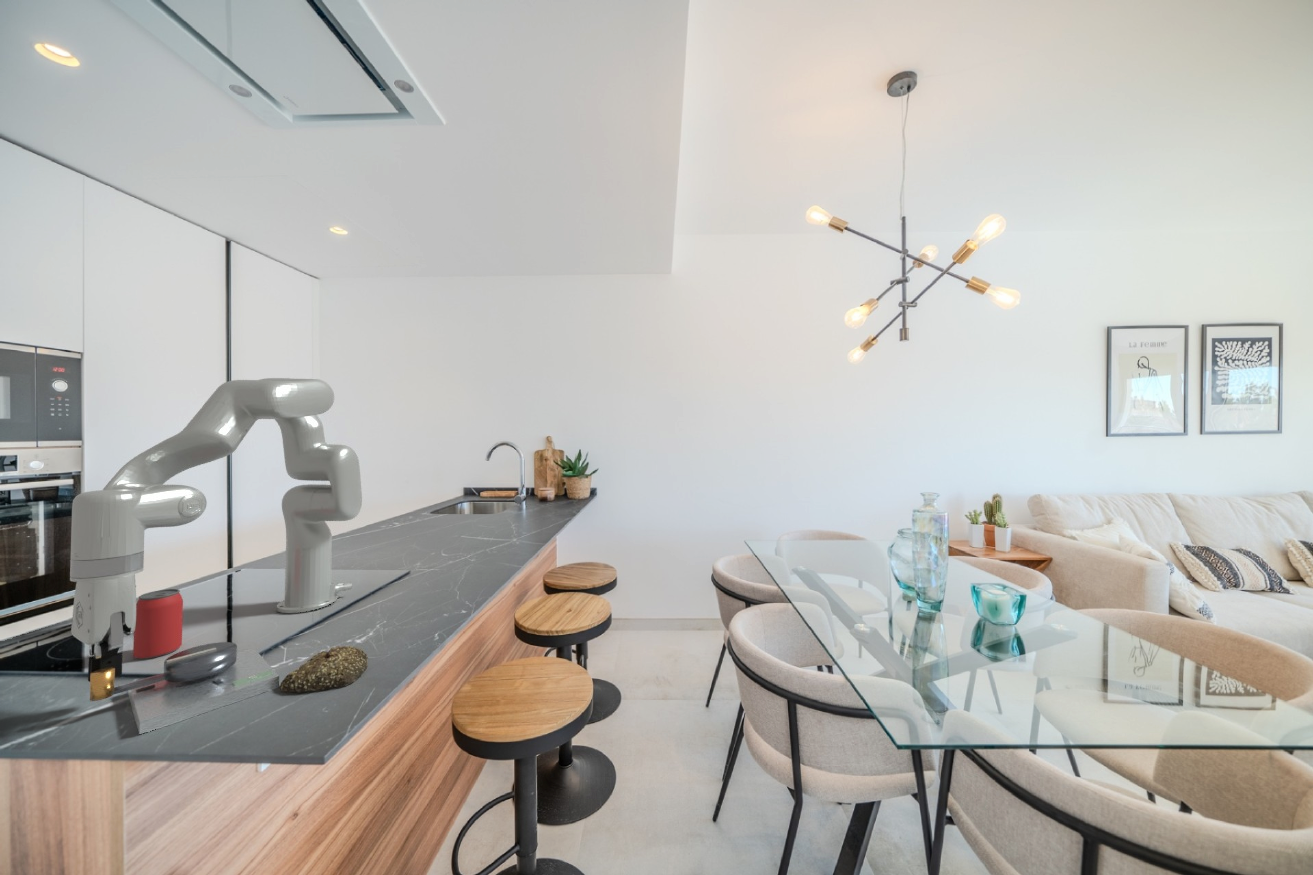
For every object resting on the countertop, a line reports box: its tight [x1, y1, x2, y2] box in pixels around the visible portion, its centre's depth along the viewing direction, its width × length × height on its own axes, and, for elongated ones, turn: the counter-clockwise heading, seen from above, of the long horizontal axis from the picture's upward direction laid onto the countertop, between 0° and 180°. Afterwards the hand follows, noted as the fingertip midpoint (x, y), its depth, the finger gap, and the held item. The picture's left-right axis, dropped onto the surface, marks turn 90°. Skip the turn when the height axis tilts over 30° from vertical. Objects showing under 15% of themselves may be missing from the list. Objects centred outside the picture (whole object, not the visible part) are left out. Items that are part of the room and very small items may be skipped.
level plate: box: [127, 647, 280, 735], centre depth 76 cm, size 16×17×3 cm
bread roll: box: [279, 645, 369, 693], centre depth 82 cm, size 13×12×5 cm
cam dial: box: [89, 641, 238, 702], centre depth 75 cm, size 17×9×4 cm, turn 144°
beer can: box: [132, 588, 184, 660], centre depth 89 cm, size 7×7×12 cm
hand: (105, 678), depth 72 cm, fingers closed
